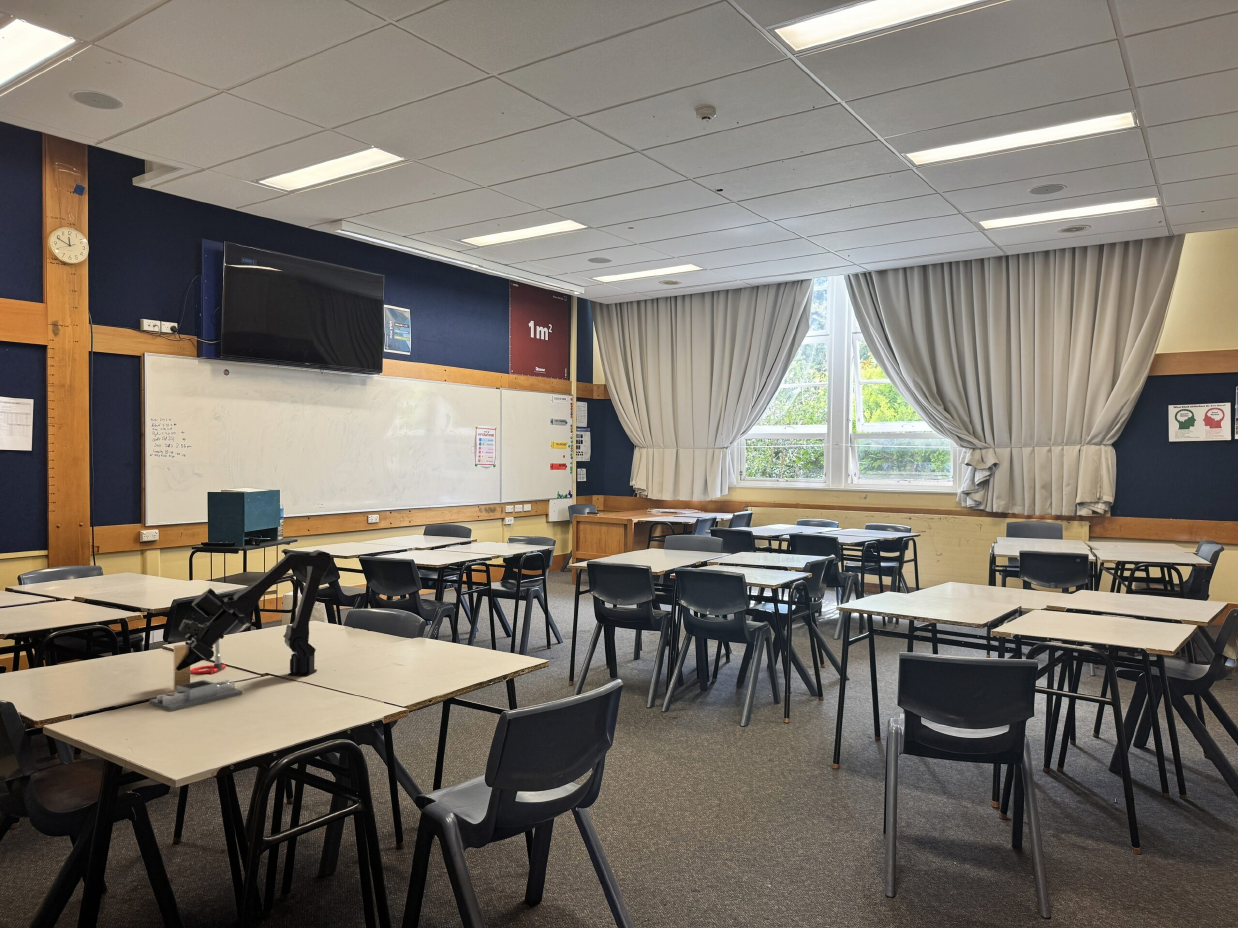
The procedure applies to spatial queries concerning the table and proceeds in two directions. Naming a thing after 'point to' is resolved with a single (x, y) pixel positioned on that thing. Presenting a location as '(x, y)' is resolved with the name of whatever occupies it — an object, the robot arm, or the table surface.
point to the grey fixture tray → (195, 694)
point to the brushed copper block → (179, 654)
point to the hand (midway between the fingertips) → (176, 668)
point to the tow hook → (216, 666)
